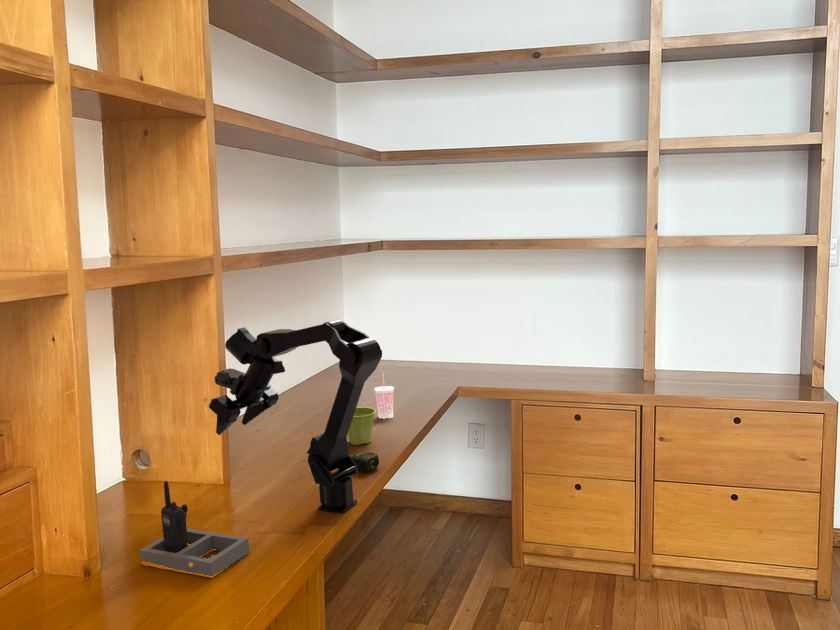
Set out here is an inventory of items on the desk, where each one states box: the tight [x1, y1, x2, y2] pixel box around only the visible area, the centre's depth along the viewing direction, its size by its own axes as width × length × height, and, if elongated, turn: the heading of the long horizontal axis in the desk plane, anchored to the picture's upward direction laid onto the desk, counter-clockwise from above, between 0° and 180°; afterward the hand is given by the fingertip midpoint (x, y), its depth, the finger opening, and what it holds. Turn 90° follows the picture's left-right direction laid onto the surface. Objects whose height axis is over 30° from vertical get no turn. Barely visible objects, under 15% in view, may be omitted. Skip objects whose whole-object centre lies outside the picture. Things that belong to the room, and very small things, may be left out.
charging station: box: [139, 528, 250, 576], centre depth 147 cm, size 17×11×3 cm
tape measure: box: [350, 451, 380, 473], centre depth 193 cm, size 7×7×4 cm
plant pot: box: [347, 406, 377, 446], centre depth 216 cm, size 9×9×9 cm
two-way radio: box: [160, 480, 189, 553], centre depth 148 cm, size 6×4×15 cm
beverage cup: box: [373, 371, 395, 420], centre depth 240 cm, size 6×6×14 cm
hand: (230, 428), depth 184 cm, fingers open, 9 cm apart
